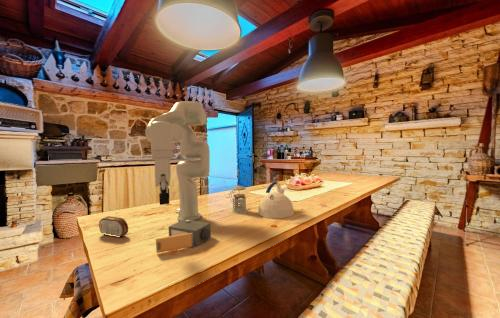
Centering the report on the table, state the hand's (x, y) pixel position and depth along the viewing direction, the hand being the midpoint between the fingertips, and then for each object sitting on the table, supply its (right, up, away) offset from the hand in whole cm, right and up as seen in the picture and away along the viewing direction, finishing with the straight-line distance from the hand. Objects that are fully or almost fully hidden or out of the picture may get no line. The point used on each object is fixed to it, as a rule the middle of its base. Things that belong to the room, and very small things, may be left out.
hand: (164, 201), depth 79 cm
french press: (+25, -15, +47) cm, 55 cm away
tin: (-29, -19, +15) cm, 37 cm away
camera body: (+7, -18, +9) cm, 21 cm away
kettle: (+47, -15, +41) cm, 64 cm away
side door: (+5, -18, -1) cm, 18 cm away
